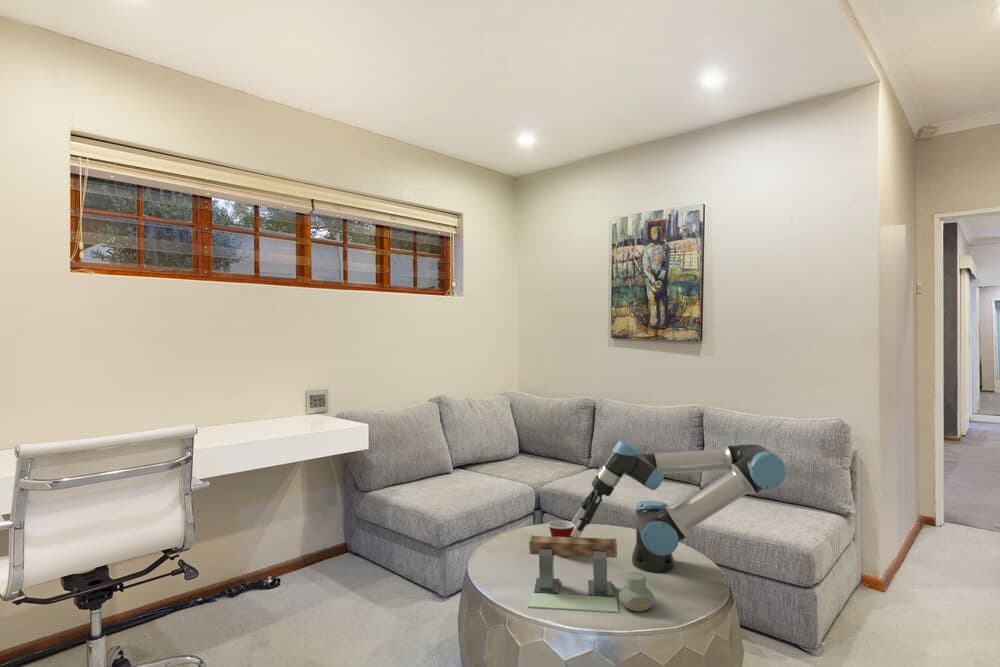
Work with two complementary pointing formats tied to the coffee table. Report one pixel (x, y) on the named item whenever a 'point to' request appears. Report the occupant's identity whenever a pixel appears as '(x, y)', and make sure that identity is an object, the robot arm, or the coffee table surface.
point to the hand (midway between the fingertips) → (574, 530)
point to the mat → (573, 602)
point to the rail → (573, 545)
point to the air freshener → (636, 593)
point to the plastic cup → (561, 529)
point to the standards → (595, 586)
